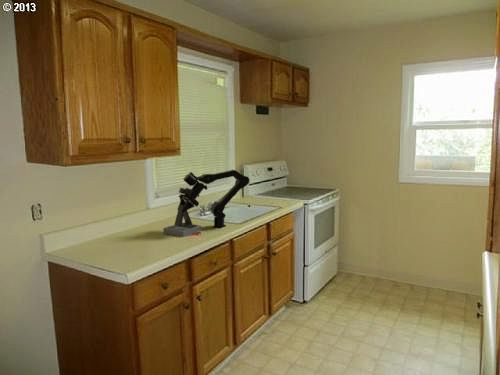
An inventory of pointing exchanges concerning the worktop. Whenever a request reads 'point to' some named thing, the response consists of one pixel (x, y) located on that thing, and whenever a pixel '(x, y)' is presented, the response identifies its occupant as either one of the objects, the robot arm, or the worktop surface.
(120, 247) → the worktop surface
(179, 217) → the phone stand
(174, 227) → the tray
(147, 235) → the worktop surface
